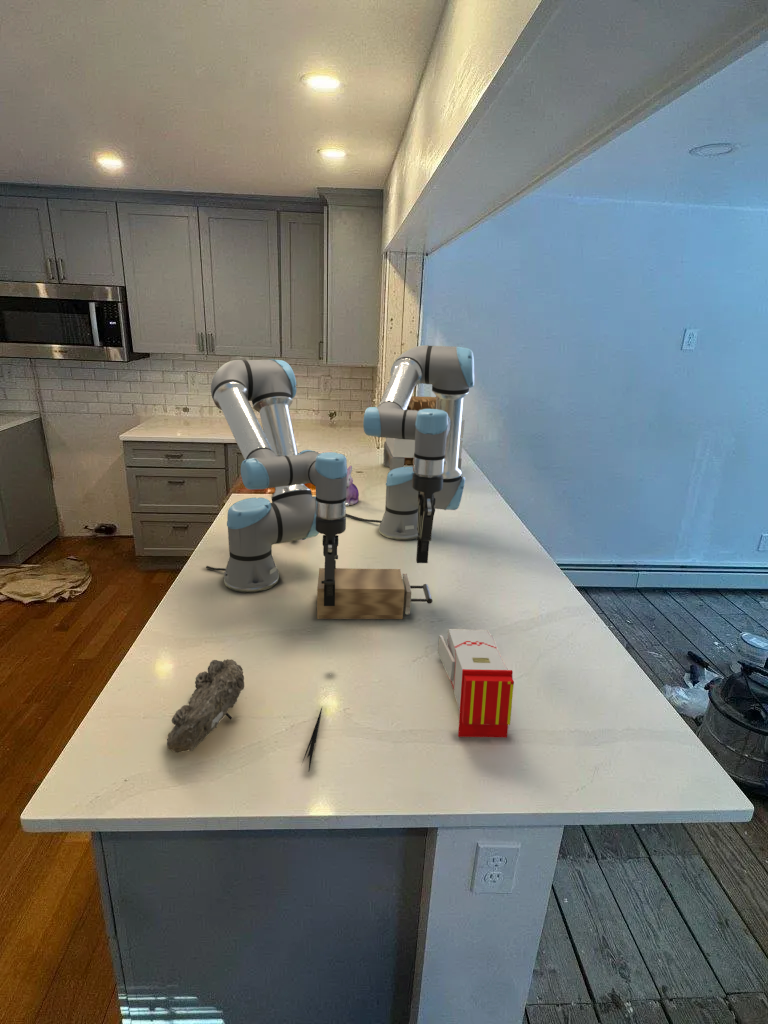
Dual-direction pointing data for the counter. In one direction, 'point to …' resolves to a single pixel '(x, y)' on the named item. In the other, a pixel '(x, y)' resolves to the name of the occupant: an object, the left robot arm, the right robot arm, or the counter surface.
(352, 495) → the figurine
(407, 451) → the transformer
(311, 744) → the feather
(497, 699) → the toy
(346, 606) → the cabinet
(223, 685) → the fossil
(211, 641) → the counter surface
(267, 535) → the left robot arm
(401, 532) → the right robot arm
